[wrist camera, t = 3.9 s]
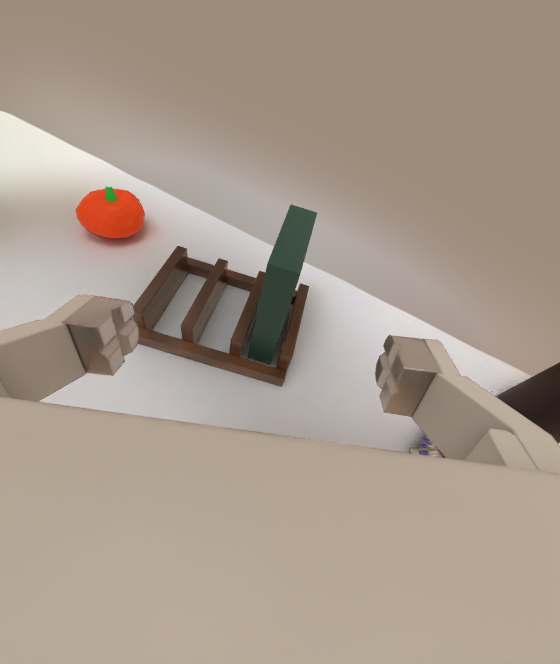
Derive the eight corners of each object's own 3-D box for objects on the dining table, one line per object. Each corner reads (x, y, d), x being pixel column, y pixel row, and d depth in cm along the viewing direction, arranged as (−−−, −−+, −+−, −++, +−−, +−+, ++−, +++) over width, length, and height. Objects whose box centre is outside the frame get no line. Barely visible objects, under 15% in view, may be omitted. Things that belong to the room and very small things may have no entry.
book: (247, 358, 33) (267, 263, 22) (267, 301, 39) (291, 203, 28) (269, 364, 33) (300, 273, 22) (286, 307, 39) (317, 211, 28)
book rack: (131, 341, 32) (123, 319, 29) (183, 264, 40) (181, 239, 37) (281, 386, 32) (289, 369, 29) (302, 300, 40) (310, 279, 37)
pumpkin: (78, 220, 41) (60, 174, 36) (139, 212, 44) (130, 168, 39) (91, 253, 38) (73, 208, 33) (155, 241, 41) (147, 198, 36)
